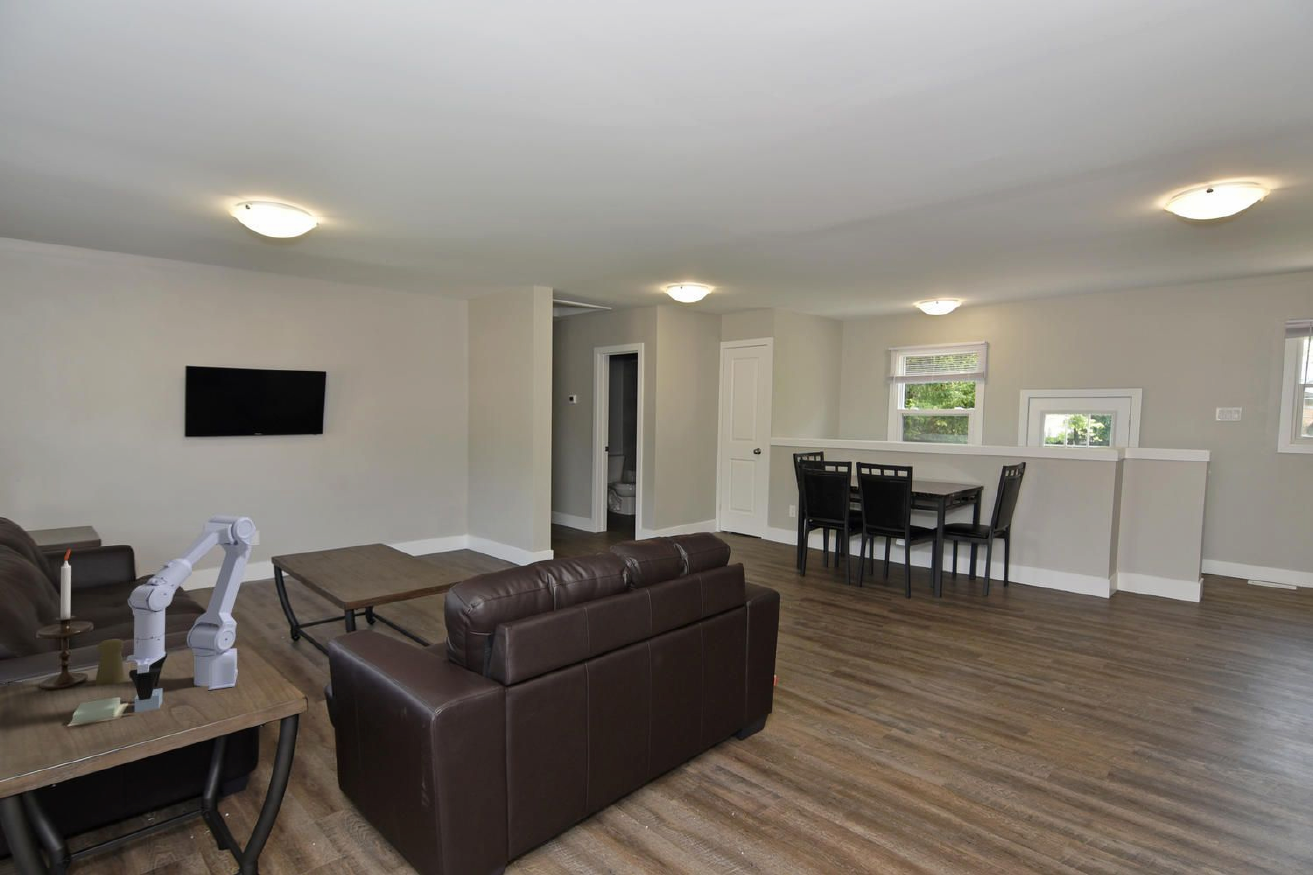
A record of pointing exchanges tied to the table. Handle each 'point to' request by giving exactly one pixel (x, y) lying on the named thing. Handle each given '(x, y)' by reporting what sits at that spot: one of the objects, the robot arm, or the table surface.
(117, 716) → the birch slab
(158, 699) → the blue cube
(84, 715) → the green block
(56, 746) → the table surface
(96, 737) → the table surface
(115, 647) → the olive tall rounded piece
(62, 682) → the candlestick
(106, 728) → the table surface
